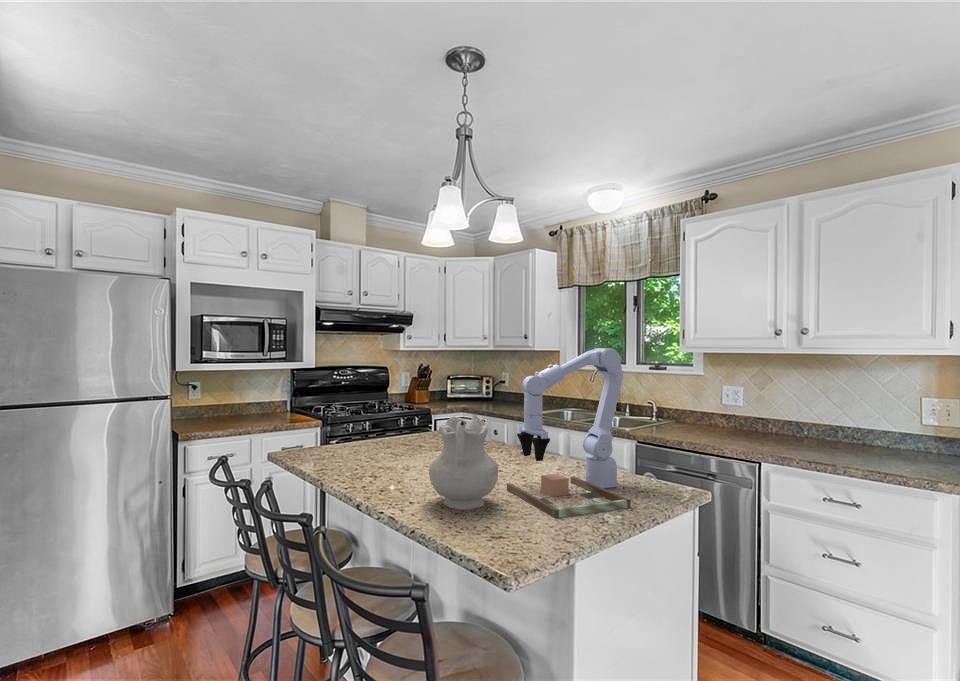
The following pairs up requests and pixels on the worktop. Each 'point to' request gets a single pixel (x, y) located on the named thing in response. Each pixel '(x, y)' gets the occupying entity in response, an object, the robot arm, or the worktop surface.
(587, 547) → the worktop surface
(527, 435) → the robot arm
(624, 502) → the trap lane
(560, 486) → the block
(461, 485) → the ceramic pitcher
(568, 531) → the worktop surface
